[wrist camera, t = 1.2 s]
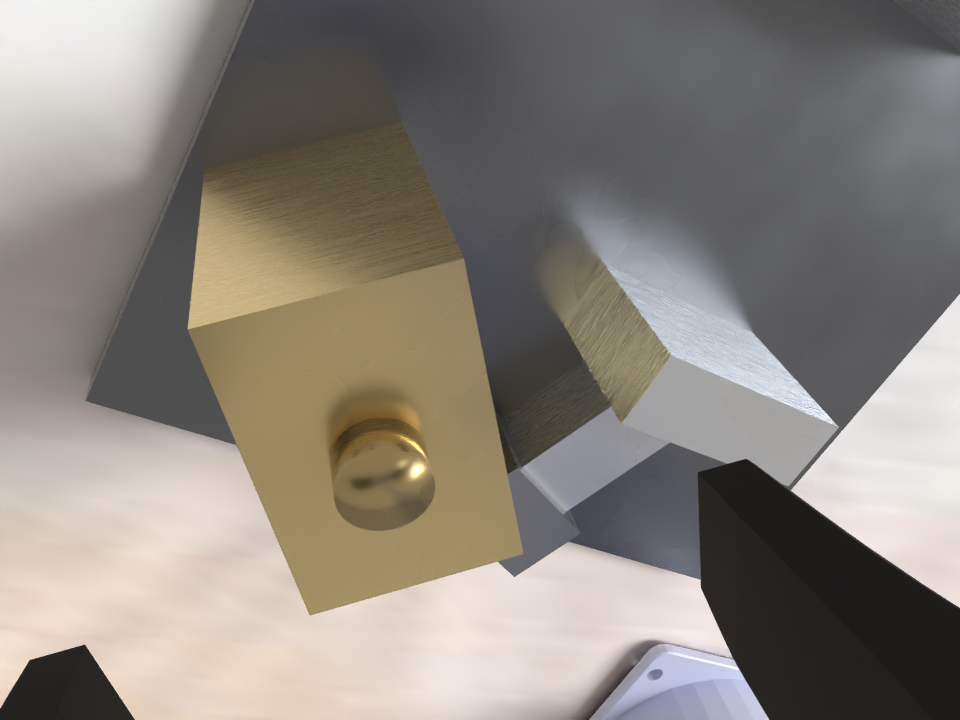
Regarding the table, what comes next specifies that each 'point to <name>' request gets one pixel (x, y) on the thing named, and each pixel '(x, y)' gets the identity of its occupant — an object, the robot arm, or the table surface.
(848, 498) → the table surface
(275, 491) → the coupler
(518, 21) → the shaft base
